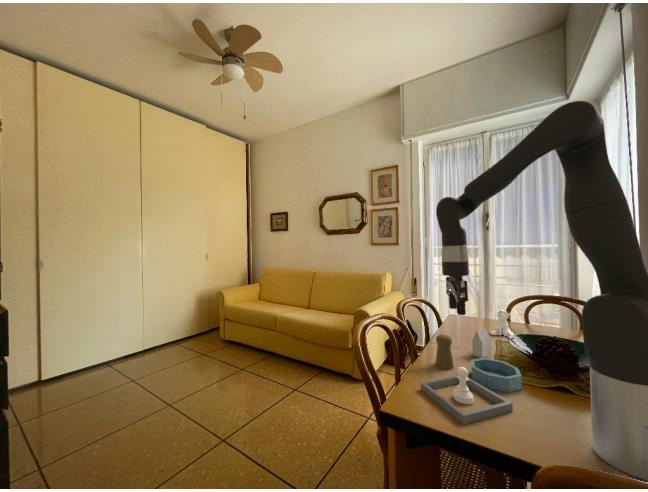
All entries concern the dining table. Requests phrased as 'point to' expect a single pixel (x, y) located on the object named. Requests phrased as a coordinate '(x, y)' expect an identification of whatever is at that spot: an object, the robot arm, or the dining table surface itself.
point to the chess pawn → (463, 388)
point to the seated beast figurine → (502, 324)
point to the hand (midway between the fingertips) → (456, 311)
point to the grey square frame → (469, 416)
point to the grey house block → (481, 344)
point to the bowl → (496, 374)
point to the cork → (444, 352)
